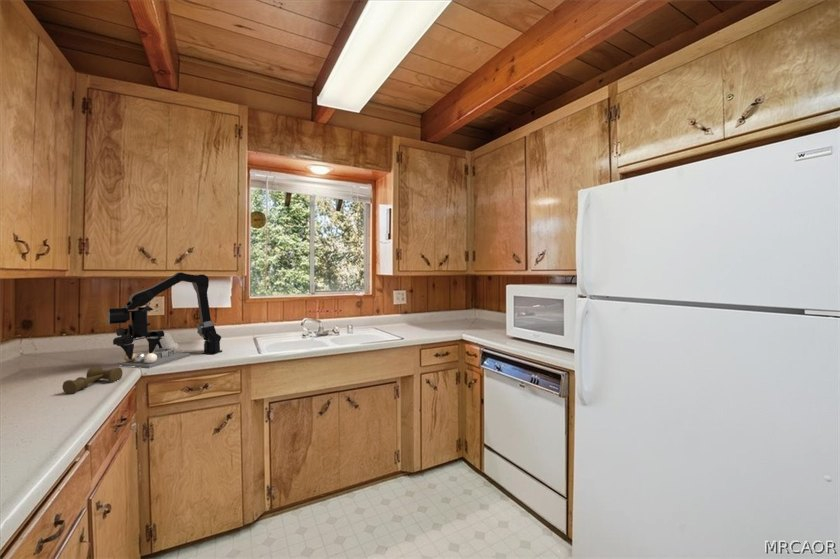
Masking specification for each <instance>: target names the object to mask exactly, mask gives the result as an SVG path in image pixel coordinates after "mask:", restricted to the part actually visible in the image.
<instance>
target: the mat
mask: <svg viewBox="0 0 840 559" xmlns="http://www.w3.org/2000/svg"><path fill="white" fill-rule="evenodd" d="M191 356H192V354H191V352H176V354H175V355H173V356H169V357H164V358H157V360H156V361H155V362H154V363H147V362H145V361H144V362H142V363H138V362H136V361H133V362H127V361H124V362H119V363H118V366H119V365H122V366H121V367H124V366H135V367H134V368H139V367H141V368H144V369H152V368H155V367H158V366H162V365H164V364H169V363H171V362H173V361H179V360H182V359H185V358H188V357H191ZM141 368H140V369H141Z"/></svg>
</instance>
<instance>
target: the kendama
mask: <svg viewBox="0 0 840 559" xmlns="http://www.w3.org/2000/svg"><path fill="white" fill-rule="evenodd" d="M123 374H124V373H123V369H122V368H121V367H120V366H118V367H113V368H111V369H103V367H101V366H99V365H94V366H91V367H90V368H89V369H88V370H87V371H86V374H85V375H86V377H82V376H80V377H77V378H75V379H74V380H71V379H68V380H65V381H63V384H62V391H63V392H64V394H65V393H66V395H75V394H76V393H77V392H78V391H79V390H85V389H86V388H88V386H89V385H90V384H92V383H95V382H98V381H99V380H108V381H109V382H111V383H115V382H114V381H116V382H118V381H117V380H119V381H120V380H122V377H123ZM94 381H95V382H94Z"/></svg>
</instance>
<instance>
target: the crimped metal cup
mask: <svg viewBox="0 0 840 559" xmlns="http://www.w3.org/2000/svg"><path fill="white" fill-rule="evenodd" d="M176 350H177V348H176V349H175V348H160V349H156V348H155V349H154V351H153V353H154V354H156V355H157V358H164V357H169V356H173V355H175V354H176V353H177V352H176ZM147 354H149V350H148V351H147Z"/></svg>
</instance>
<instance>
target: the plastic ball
mask: <svg viewBox="0 0 840 559" xmlns="http://www.w3.org/2000/svg"><path fill="white" fill-rule="evenodd" d="M156 360H157V355H156V354H154V353H149V354H148V353H147V354H146V356H145V362H147V363H154V362H155V361H156Z"/></svg>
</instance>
